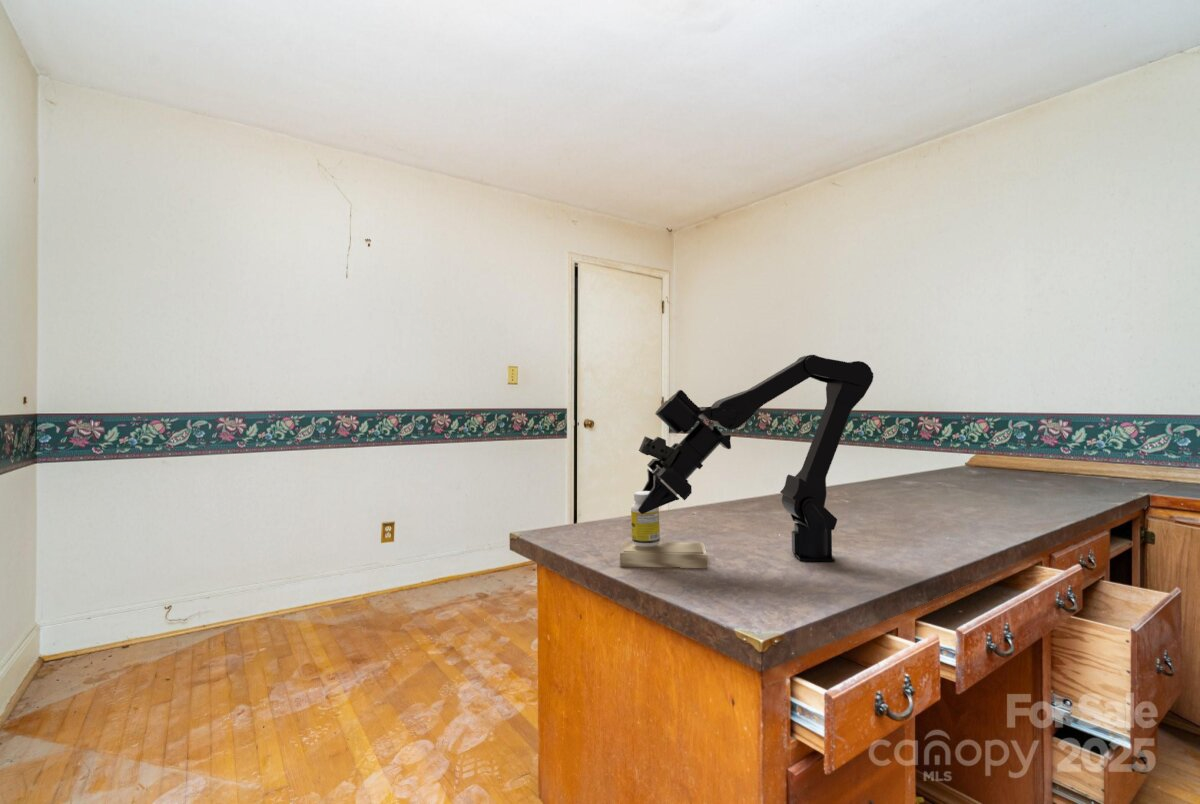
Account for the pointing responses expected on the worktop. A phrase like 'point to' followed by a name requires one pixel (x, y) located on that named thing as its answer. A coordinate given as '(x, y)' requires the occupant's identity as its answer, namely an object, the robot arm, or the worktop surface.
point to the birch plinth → (664, 555)
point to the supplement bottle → (644, 523)
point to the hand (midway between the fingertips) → (638, 509)
